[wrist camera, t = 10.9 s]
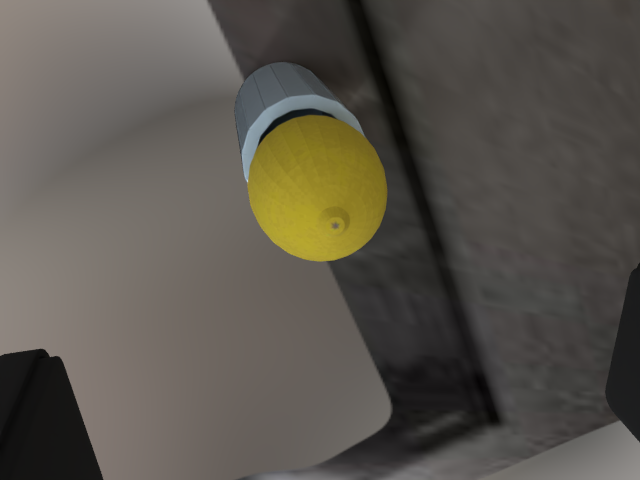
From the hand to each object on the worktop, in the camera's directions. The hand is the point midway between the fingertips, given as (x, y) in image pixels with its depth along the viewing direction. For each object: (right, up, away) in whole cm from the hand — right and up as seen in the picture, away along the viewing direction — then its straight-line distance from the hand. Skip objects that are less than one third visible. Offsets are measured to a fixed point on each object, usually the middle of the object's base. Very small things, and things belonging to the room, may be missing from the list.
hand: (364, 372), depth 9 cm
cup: (-3, +10, +24) cm, 26 cm away
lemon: (-2, +6, +18) cm, 19 cm away
